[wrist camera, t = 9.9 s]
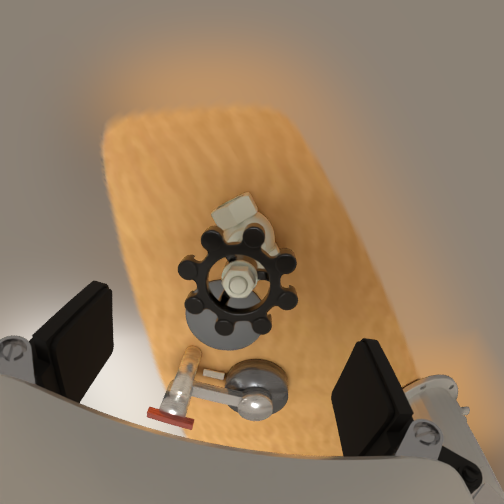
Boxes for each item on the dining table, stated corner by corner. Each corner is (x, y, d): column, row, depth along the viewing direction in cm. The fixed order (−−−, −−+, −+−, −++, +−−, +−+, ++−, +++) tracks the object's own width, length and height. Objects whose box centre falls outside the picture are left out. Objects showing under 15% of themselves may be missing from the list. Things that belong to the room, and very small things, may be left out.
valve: (266, 180, 26) (265, 200, 14) (299, 246, 27) (320, 311, 16) (200, 215, 27) (153, 259, 15) (235, 276, 28) (215, 353, 17)
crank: (276, 390, 29) (277, 432, 24) (267, 411, 30) (266, 452, 25) (164, 364, 29) (147, 403, 23) (162, 387, 30) (147, 425, 24)
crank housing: (294, 365, 31) (299, 410, 25) (278, 405, 34) (279, 449, 27) (186, 343, 31) (169, 385, 24) (181, 386, 33) (167, 428, 27)
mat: (273, 289, 29) (273, 291, 28) (255, 354, 31) (255, 357, 31) (191, 271, 28) (190, 273, 28) (182, 338, 31) (181, 340, 31)
